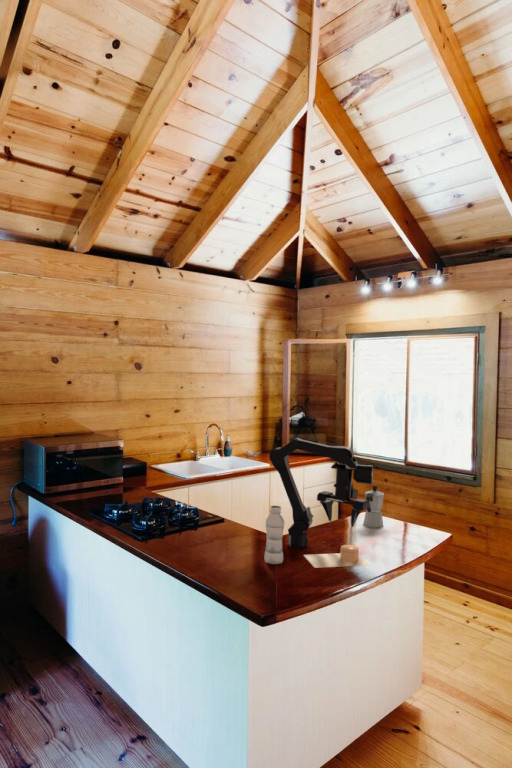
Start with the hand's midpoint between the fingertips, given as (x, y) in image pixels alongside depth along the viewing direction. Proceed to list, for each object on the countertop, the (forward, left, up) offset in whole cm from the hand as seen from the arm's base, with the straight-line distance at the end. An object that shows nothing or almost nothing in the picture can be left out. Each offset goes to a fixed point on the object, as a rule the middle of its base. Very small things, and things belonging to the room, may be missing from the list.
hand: (341, 523), depth 184 cm
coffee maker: (+29, +33, -12) cm, 46 cm away
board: (-5, -8, -12) cm, 15 cm away
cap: (0, -8, -10) cm, 13 cm away
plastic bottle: (-27, -6, -12) cm, 30 cm away
